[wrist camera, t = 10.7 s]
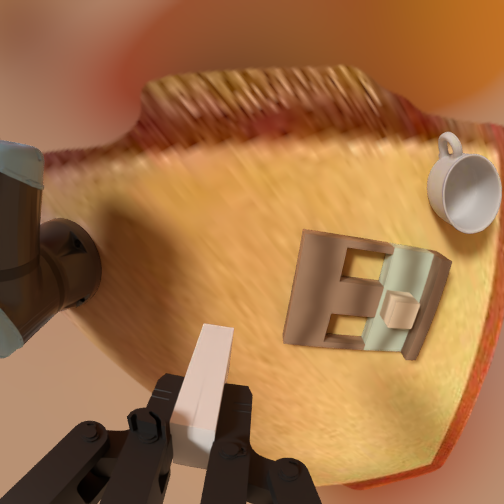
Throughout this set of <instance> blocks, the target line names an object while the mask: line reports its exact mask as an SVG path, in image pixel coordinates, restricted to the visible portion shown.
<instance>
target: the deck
mask: <svg viewBox="0 0 504 504" xmlns="http://www.w3.org/2000/svg"><path fill="white" fill-rule="evenodd" d="M347 247H349V248H355V249H362V250H368V251H375V252H381V253H386V255H385V259H384V262H383V266H382V270H381V274H380V277H379V280H371V279H363V278H355V277H347V276H341V273H342V269H343V265H344V260H345V256H346V251H347ZM451 264H452V261H451V260H449V259H448V258H446V257H445V256H443V255H442V254H440V253H438V252H437V251H433V250H428V249H422V248H416V247H411V246H405V245H399V244H394V243H388V242H382V241H376V240H370V239H364V238H358V237H352V236H345V235H339V234H333V233H326V232H320V231H313V230H306V229H303V232H302V238H301V244H300V249H299V255H298V260H297V265H296V271H295V276H294V281H293V286H292V291H291V296H290V301H289V306H288V311H287V316H286V321H285V326H284V330H283V343H284V344H293V345H303V346H314V347H326V348H340V349H355V350H375V351H401V353H402V355H403V356H404V358H405V360H416V358H417V356H418V354H419V351H420V349H421V347H422V345H423V342H424V340H425V337H426V335H427V333H428V330H429V328H430V325H431V323H432V320H433V317H434V315H435V312H436V309H437V307H438V304H439V301H440V298H441V295H442V292H443V289H444V286H445V283H446V280H447V277H448V274H449V271H450V267H451ZM387 290H392V291H400V292H409V293H410V294H411V295H412V296H413V297H414V298H415V299H416V300H417V301H418V302H419V303H420V307H419V309H418V312H417V315H416V318H415V320H414V323H413V326H412V328H411V329H401V328H388V327H387V325H386V324H385V322H384V321H383V319H382V318H381V316H380V314H379V313H380V310H381V307H382V304H383V301H384V298H385V294H386V291H387ZM331 313H333V314H343V315H353V316H364V317H368V318H367V321H366V324H365V327H364V330H363V333H362V336H349V335H336V334H326V331H327V327H328V324H329V320H330V316H331Z"/></svg>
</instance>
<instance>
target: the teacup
mask: <svg viewBox="0 0 504 504" xmlns="http://www.w3.org/2000/svg"><path fill="white" fill-rule="evenodd" d="M447 141H448V142H449V144H450V145H451V147H452V149H453V154H449V153H448V146H447ZM438 146H439V160H438V161H437V162H436V163H435V164H434V166H433V167H432V169H431V171H430V173H429V177H428V181H427V194H428V199H429V202H430V204H431V206H432V208H433V210H434V211H435V213H436V214H437V215H438V216H439V217H440V218H442V219H443V220H444V221H446V222H447V223H449V224H450V225H452V226H453V227H455V228H456V229H457V230H459V231H460V232H463V233H467V234H473V233H478V232H480V231H483V230H484V229H485V228H487V227H488V226H489V225H490V224H491V223H492V221H493V220H494V219H495V217H496V215H497V213H498V210H499V207H500V203H501V196H502V187H501V181H500V178H499V174H498V172H497V170H496V168H495V167H494V165H493V164H492V162H490V161H489V160H488V159H487V158H485V157H484V156H481V155H478V154H464V153H463V151H462V146H461V143H460V141H459V139H458V138H457V137H456V136H455V135H454V134H453V133H451V132H445V133H443V134H442V135H441V136H440V137H439V141H438Z"/></svg>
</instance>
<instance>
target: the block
mask: <svg viewBox="0 0 504 504" xmlns="http://www.w3.org/2000/svg"><path fill="white" fill-rule="evenodd" d="M419 307H420V303H419V302H418V301H417V300H416V299H415V298H414V297H413V296H412V295H411V294H410V293H409V292H400V291H392V290H387V291H386V294H385V298H384V301H383V304H382V307H381V310H380V313H379V314H380V316H381V318H382V319H383V321H384V322H385V324H386V325H387V327H388V328H401V329H411V328H412V326H413V323H414V320H415V318H416V315H417V312H418V309H419Z"/></svg>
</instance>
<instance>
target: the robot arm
mask: <svg viewBox="0 0 504 504" xmlns="http://www.w3.org/2000/svg"><path fill="white" fill-rule="evenodd" d="M43 171H44V157H43V154H42V153H41V151H40V150H39V149H37V148H35V147H33V146H29V145H25V144H20V143H15V142H9V141H3V140H0V358H6V357H8V356H10V355H11V354H12V353H13V352H14V351H16V349H19V348H21V347H22V346H23V345H24V344H25V343H26V342H27V341H28V340H29V339H30V338H31V337H32V336H33V335H34V334H35V333H36V332H37V331H38V330H39V329H40V328H41V327H42V326H43V325H45V324H46V323H47V322H48V321H49V320H50V319H51V318H52V317H53V316H54V315H55V314H56V313H58V312H59V311H63V310H67V309H71V308H74V307H78V306H80V305H82V304H84V303H85V302H87V301H88V300H89V299H90V298H91V297H92V296H93V295H94V294H95V292H96V291H97V289H98V287H99V284H100V280H101V263H100V258H99V255H98V252H97V249H96V247H95V245H94V243H93V241H92V239H91V238H90V236H89V235H88V234H87V233H86V231H85V230H84V229H83V228H81V227H80V226H79V225H78V224H76V223H74V222H73V221H70V220H68V219H63V218H57V219H53V220H50V221H47V222H45V223H43V224H41V225H40V218H41V203H42V191H43V190H44V185H43ZM233 332H234V328H230V327H224V326H217V325H211V324H203V327H202V330H201V333H200V336H199V338H198V341H197V344H196V347H195V350H194V353H193V355H192V358H191V361H190V364H189V367H188V370H187V373H186V375H185V377H182V376H177V375H172V374H167V373H166V374H165V375H164V376H162V377H161V378H160V379H159V380H158V382H157V384H156V386H155V389H154V391H153V393H152V396H151V398H150V400H149V402H148V404H147V407H146V408H139V409H135V410H134V411H132V412H130V414H129V415H128V416H127V419H128V424H129V428H130V429H129V430H125V431H109V430H106V429H105V427H104V426H103V425H102V424H100V423H98V422H95V421H85V422H81V423H80V424H78V425H77V426H75V427H74V428H73V429H72V430H71V431H70V432H69V433H68V434H67V435H66V436H65V437H64V438H63V439H62V440H61V441H60V442H59V443H58V444H57V445H56V446H55V447H54V448H53V449H52V450H51V451H50V452H49V453H48V454H47V455H45V456H44V457H43V458H42V459H41V460H40V461H39V462H38V463H37V464H36V465H35V466H34V467H33V468H32V469H31V470H30V471H29V472H28V473H27V474H26V475H25V476H24V477H23V478H22V479H21V480H19V482H17V483H16V485H14V486H13V487H12V488H11V489H10V490H9V491H8V492H7V493H6V494H5V495H4V496H3V497H2V498H1V499H0V504H97V503H98V502H99V501H100V500H101V501H100V504H163V500H164V497H165V493H166V489H167V485H168V482H169V478H170V466H171V462H172V459H173V463H176V464H180V465H185V466H190V467H196V468H201V469H207V471H206V476H205V482H204V488H203V493H202V498H201V503H200V504H246V501H247V502H249V503H252V504H322V503H321V500H320V498H319V496H318V493H317V491H316V489H315V486H314V483H313V481H312V478H311V476H310V474H309V471H308V469H307V467H306V466H305V465H304V464H303V463H302V462H300V461H299V460H296V459H293V458H282V459H279V460H276V461H273V460H270V459H267V458H264V457H262V456H260V455H258V454H257V453H256V452H255V451H254V450H253V449H252V447H251V445H250V425H251V411H252V396H253V395H252V393H251V391H250V389H249V387H248V386H242V385H235V384H228V383H227V378H228V372H229V365H230V357H231V348H232V340H233Z"/></svg>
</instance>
